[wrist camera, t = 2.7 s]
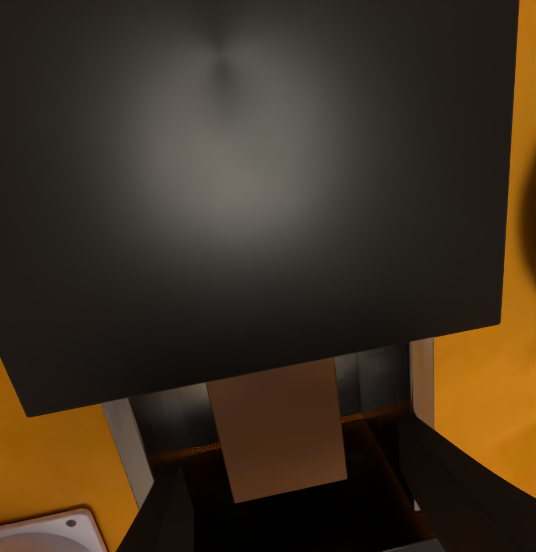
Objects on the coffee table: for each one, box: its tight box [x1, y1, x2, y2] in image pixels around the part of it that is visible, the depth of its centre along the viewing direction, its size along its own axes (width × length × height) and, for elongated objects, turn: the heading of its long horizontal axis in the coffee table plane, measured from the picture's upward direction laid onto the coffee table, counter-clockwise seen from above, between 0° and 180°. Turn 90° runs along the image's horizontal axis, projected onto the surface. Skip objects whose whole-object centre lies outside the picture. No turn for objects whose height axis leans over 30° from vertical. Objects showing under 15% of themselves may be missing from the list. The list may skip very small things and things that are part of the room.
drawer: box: [101, 337, 445, 552], centre depth 16 cm, size 18×11×7 cm, turn 9°
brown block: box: [205, 357, 347, 503], centre depth 16 cm, size 4×6×4 cm
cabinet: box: [0, 0, 519, 417], centre depth 11 cm, size 15×13×9 cm
